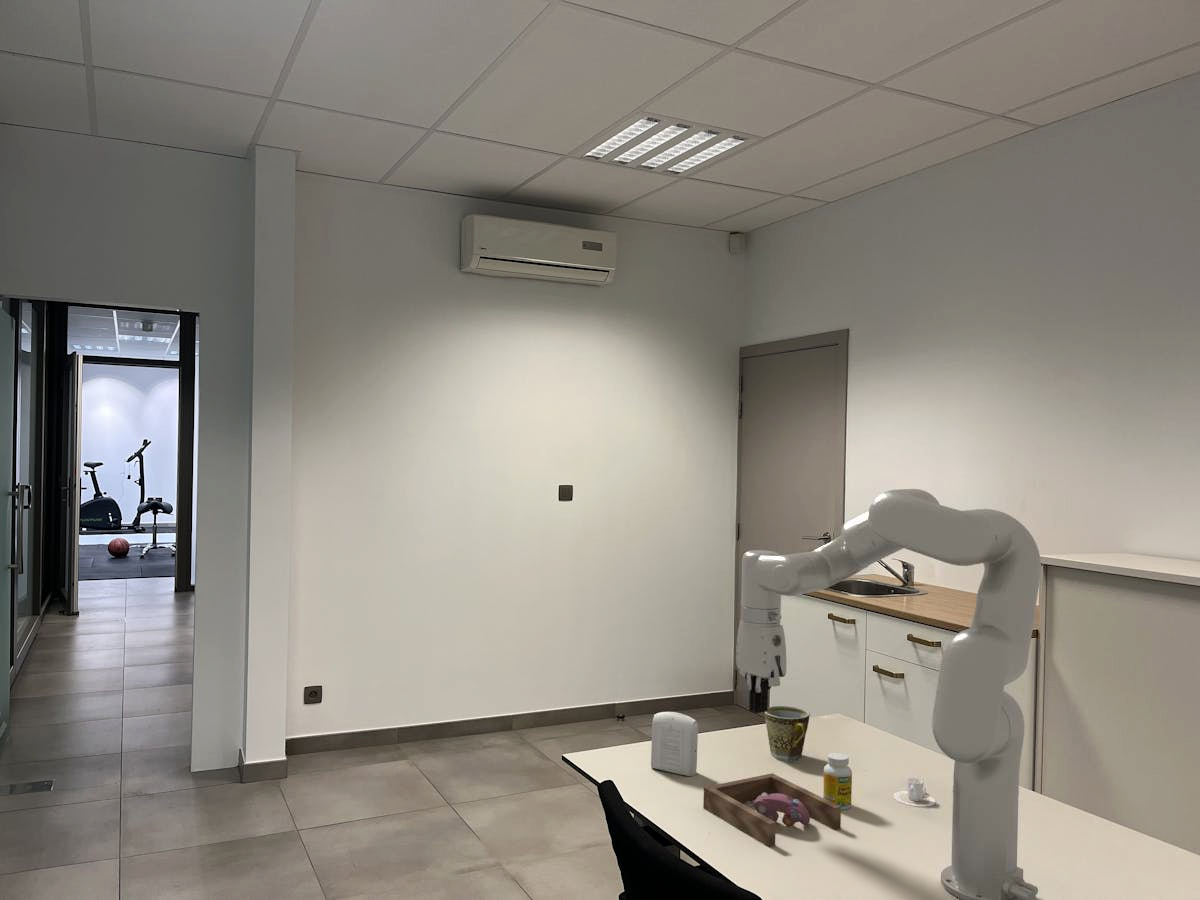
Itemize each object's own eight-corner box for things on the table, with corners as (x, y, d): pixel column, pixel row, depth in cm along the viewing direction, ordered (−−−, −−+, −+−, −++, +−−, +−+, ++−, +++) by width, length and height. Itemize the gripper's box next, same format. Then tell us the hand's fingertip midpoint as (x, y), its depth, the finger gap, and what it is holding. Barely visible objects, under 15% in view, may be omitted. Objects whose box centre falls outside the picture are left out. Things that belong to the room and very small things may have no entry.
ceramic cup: (755, 750, 207) (756, 707, 207) (794, 747, 210) (795, 704, 210) (783, 770, 194) (784, 723, 194) (824, 766, 197) (825, 720, 197)
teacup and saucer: (911, 790, 186) (911, 770, 186) (946, 802, 179) (946, 782, 179) (885, 799, 180) (885, 778, 180) (920, 812, 174) (920, 791, 174)
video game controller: (754, 827, 168) (749, 799, 165) (761, 809, 171) (756, 781, 169) (806, 839, 163) (802, 810, 160) (812, 819, 167) (809, 791, 164)
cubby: (840, 828, 164) (841, 806, 164) (768, 846, 156) (769, 823, 156) (771, 793, 181) (772, 773, 181) (703, 808, 172) (703, 787, 172)
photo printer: (699, 772, 192) (701, 714, 192) (691, 778, 188) (693, 719, 188) (656, 763, 197) (657, 706, 197) (647, 769, 193) (649, 711, 193)
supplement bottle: (836, 797, 179) (837, 749, 179) (857, 807, 175) (858, 757, 175) (817, 803, 176) (818, 754, 176) (838, 812, 172) (839, 762, 172)
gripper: (802, 621, 167) (800, 719, 167) (750, 607, 180) (748, 699, 180) (771, 624, 164) (768, 724, 164) (721, 610, 177) (718, 703, 177)
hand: (758, 711), depth 172 cm, fingers closed
